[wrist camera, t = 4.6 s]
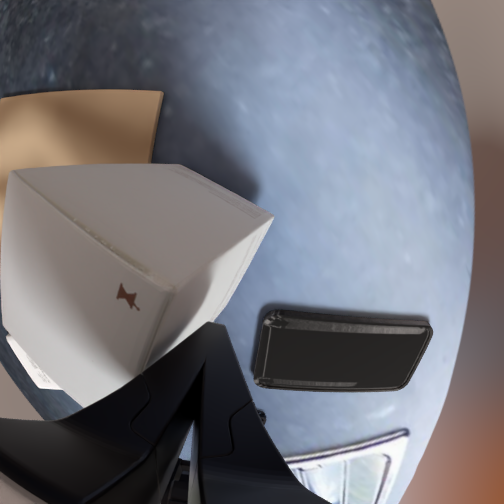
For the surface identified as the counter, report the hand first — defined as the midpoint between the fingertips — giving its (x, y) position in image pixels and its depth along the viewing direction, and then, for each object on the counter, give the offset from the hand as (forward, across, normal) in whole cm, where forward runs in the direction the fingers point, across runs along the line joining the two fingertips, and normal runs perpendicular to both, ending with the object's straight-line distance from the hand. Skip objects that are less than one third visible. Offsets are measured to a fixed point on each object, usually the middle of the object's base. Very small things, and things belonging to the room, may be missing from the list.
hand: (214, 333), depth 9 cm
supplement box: (+11, +3, +1) cm, 11 cm away
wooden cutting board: (+11, +16, +2) cm, 19 cm away
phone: (+12, -11, +9) cm, 18 cm away
